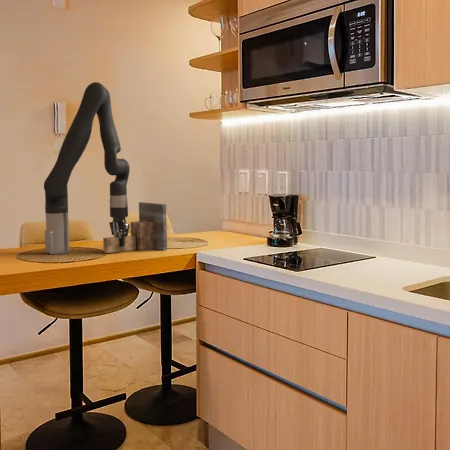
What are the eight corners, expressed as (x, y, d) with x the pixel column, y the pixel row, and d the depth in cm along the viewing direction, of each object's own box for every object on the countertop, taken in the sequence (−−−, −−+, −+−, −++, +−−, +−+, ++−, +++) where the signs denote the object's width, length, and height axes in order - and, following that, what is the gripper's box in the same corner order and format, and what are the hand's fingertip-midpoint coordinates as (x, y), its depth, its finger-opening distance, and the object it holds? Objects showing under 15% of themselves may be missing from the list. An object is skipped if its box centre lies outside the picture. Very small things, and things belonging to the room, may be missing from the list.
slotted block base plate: (148, 252, 229) (146, 205, 226) (124, 247, 244) (123, 203, 242) (166, 250, 235) (166, 204, 232) (142, 245, 250) (141, 202, 248)
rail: (107, 252, 226) (106, 238, 225) (103, 252, 228) (103, 238, 228) (144, 249, 237) (143, 235, 237) (140, 248, 240) (140, 235, 239)
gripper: (102, 205, 232) (104, 245, 234) (119, 207, 222) (120, 249, 224) (118, 204, 237) (119, 243, 239) (135, 206, 226) (136, 247, 228)
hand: (120, 245), depth 231 cm, fingers closed on rail, 3 cm apart
